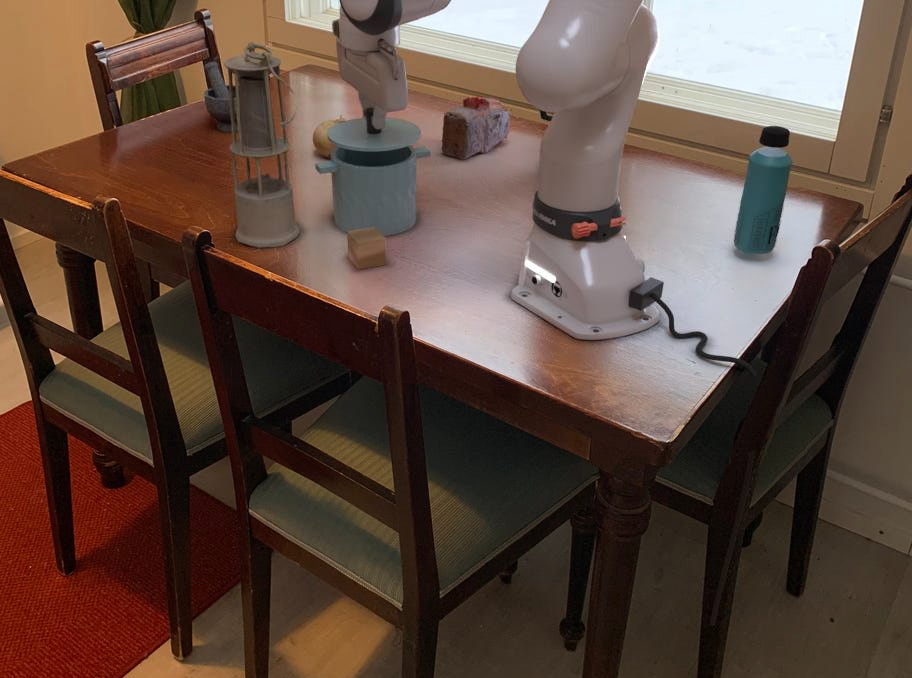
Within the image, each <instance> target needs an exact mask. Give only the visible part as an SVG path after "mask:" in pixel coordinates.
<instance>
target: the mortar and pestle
mask: <svg viewBox="0 0 912 678" xmlns="http://www.w3.org/2000/svg"><path fill="white" fill-rule="evenodd" d="M218 66H219V64H218V62H217V61H209V62H207V63H206V64H205V65H203V69H204V70H205V71H206V72H207V75H208V78H209V81H210V84H211V88H208V89H205V90H204V95H203V96H204V97H203V98H204V104H205V107H206V110H207V112H208V114H209V115H210V116H211V118H213V119H214V120H216V128H217V130H220V131H222V132H232V123H231V111H230V91H229V84H226V82H225V80H224V79H223V76H222V73H221V72H220V70H219V67H218ZM233 97H234V114H235V128H236V132H238V125H237V107H236V87H235V84H233ZM239 104H240V97H239ZM240 119H241V109H240ZM241 131H242V124H241Z"/></svg>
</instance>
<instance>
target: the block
mask: <svg viewBox="0 0 912 678" xmlns="http://www.w3.org/2000/svg"><path fill="white" fill-rule="evenodd" d="M346 236H347V237H346V238H347V258H348V260H349V261H350V262H351V263H352V264H353V265H354V267H355V268H356V269H357V270H358V271H360V270H366V269H370V268H376V267H381V266H386V265H387V259H386V257H387V256H386V255H387V254H386V236H383V235H382V234H381V233H380V232H379V231H378V230H377V229H376V228H375V227H369V228H363V229H358V230H352V231H347V232H346Z"/></svg>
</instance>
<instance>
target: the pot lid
mask: <svg viewBox="0 0 912 678" xmlns="http://www.w3.org/2000/svg"><path fill="white" fill-rule="evenodd" d="M373 112H374V108H373V107H371V108H367V109H366V120H364V119H363V117H358V118H357V117H356V118H351V119H348V120H347V119H346V121H344V122H341V123H338V124H336V125H334V126H333V127H331V128H330V129H329V131H328V139H329V141H330V142H331V143H333V144H334V145H336V146H338V147H341V148H345V149H349V150H355V151H371V152H374V151H388V150H394V149H399V148H403V147H406V146H409V145H411V146H412V145H413V144H415V143H417V142H418V141H419V140H420V139H421V137H422V130H421V128H420V126H418V125H417V124H416V123H414V122H412V121H409V120H406V119H402V118H398V117H397V118H396V117H389V116H388V117H387V116H386V117H385V124H386V126H385V128H383V129H375V128H374V127H373V126H372V120H371V116H373Z"/></svg>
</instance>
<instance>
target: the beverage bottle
mask: <svg viewBox="0 0 912 678" xmlns="http://www.w3.org/2000/svg"><path fill="white" fill-rule="evenodd" d="M790 135H791V131H790V130H789V129H788V128H786V127H783V126H778V125H768V126H765V127H763V128H762V130H761V133H760V136H759V140H758V141H759V145H762V146H763V147H760V148H758V149H756V150H755V151H753V152H752V153H750V155H749V156H748V162H747V167H746V174H745V178H744V184H743V189H742V193H741V195H740V196H741V199H740V202H739V208H738V213H737V215H736V217H737V218H736V219H737V220H736V222H735V229H734V233H733V234H734V235H733V244H734V247H735V248H736V249H737V250H739V251H741V252H743V253H747V254H751V255H765V254H769V253H771V252H773V250H774V249H775V247H776V245H777V241H778V236H779V233H780V228H781V223H782V218H783V212H784V207H785V205H784V204H785V200H786V196H787V191H788V185H789V179H790V174H791V169H792V165H793V158H792V157H791V155H790V154H789V153H788V152H787V151H786V150H785V149H782V148H787V147H788V146H789V143H790Z"/></svg>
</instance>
